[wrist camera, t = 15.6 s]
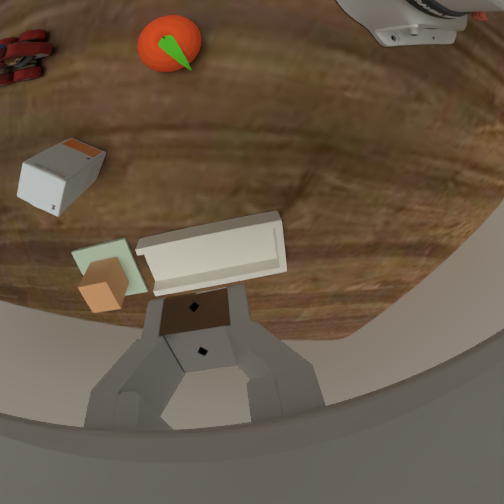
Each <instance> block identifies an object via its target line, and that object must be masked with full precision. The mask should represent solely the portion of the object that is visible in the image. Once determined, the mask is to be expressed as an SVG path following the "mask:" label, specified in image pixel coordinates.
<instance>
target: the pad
mask: <svg viewBox="0 0 504 504" xmlns="http://www.w3.org/2000/svg"><path fill="white" fill-rule="evenodd" d="M71 253H72V255H73V257H74V259H75V261H76V263H77V265H78V267H79V269H80V271H81V272H82V274H83V276H84V274H85V272H86V270H87V268H88V266H89V264H90V263H92V262H96V261H100V260H105V259H109V258H114V257H117V258H118V260H119V262H120V265H121V267H122V269H123V271H124V273H125V275H126V277H127V279H128V281H129V284H128V287H127V290H126V294H125V296H126V295H132V294H137V293H143V292H148V287H147V285H146V283H145V281H144V279H143V276H142V274H141V272H140V270H139V267H138V265H137V263H136V260H135V258H134V256H133V253H132V251H131V249H130V246H129V244H128V241H127V239H126V237H124V238H119V239H115V240H111V241H107V242H103V243H99V244H95V245H91V246H88V247H84V248H80V249H76V250H73V251H72V252H71Z"/></svg>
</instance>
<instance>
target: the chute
mask: <svg viewBox="0 0 504 504" xmlns="http://www.w3.org/2000/svg"><path fill="white" fill-rule="evenodd" d="M135 251H136V253H137V255H138V256H139V255H143V254H144V255H145V258H146V260H147V263H148V265H149V267H150V270H151V272H152V274H153V277H154V279H155V286H154V290H153V292H154V294H155V296H159V295H165V294H171V293H176V292H182V291H188V290H193V289H199V288H204V287H209V286H215V285H220V284H225V283H231V282H236V281H241V280H246V279H251V278H256V277H262V276H267V275H272V274H276V273H281V272H286V271H287V265H286V255H285V245H284V236H283V227H282V219H281V217H280V215H279V213H278V211H277V210H276V211H270V212H265V213H259V214H254V215H249V216H244V217H239V218H233V219H228V220H223V221H218V222H213V223H209V224H204V225H199V226H194V227H189V228H185V229H180V230H175V231H171V232H166V233H162V234H157V235H153V236H148V237H144V238H140V239H139V241H138V244H137V246H136V249H135Z"/></svg>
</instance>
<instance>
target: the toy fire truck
mask: <svg viewBox="0 0 504 504" xmlns="http://www.w3.org/2000/svg"><path fill="white" fill-rule="evenodd" d="M45 37H46V31H45V30H41V29H38V30H30V31H26V32H24V33H22V34H21V35H20V36H19V38H16V37H11V38H5V39H2V40H0V87H1V86H5V85H8V84H11V83H13V82H20V81H26V80H32V79H36V78H39V77H40V75H41V67H39V66H38V67H36V65H37V60H36V59H37V58H41V57H45V56H48V55H50V54H51V50H52V44H49V43H44V42H43V41H44V40H45ZM10 66H14V67H20V69H19V70H17V71H15V72H14V73H6V74H5V72H6V68H8V67H10Z"/></svg>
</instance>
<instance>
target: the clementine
mask: <svg viewBox="0 0 504 504" xmlns="http://www.w3.org/2000/svg"><path fill="white" fill-rule="evenodd" d="M201 40H202V37H201V34H200V30H199V29H198V27H197V26H196V24H194V23H193V22H192V21H191V20H189V19H188V18H185V17H183V16H178V15H166V16H163V17H160V18H157V19H155V20H154V21H152V22H150V23H149V24H148V25H147V26H146V27H145V28H144V29H143V31H142V32H141V34H140V36H139V39H138V42H137V50H138V54H139V57H140V58H141V60H142V62H143V63H144V64H145V65H146V66H148V67H149V68H151V69H153V70H155V71H159V72H173V71H176V70H179V69H182V68H183V67H186V68H187V69H189V70H191V71H192V69H191V67H190V65H189V63H191V62H192V61H193V60H194V59H195V57H196V56H197V54H198V53H199V50H200V47H201ZM192 72H193V71H192Z"/></svg>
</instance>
